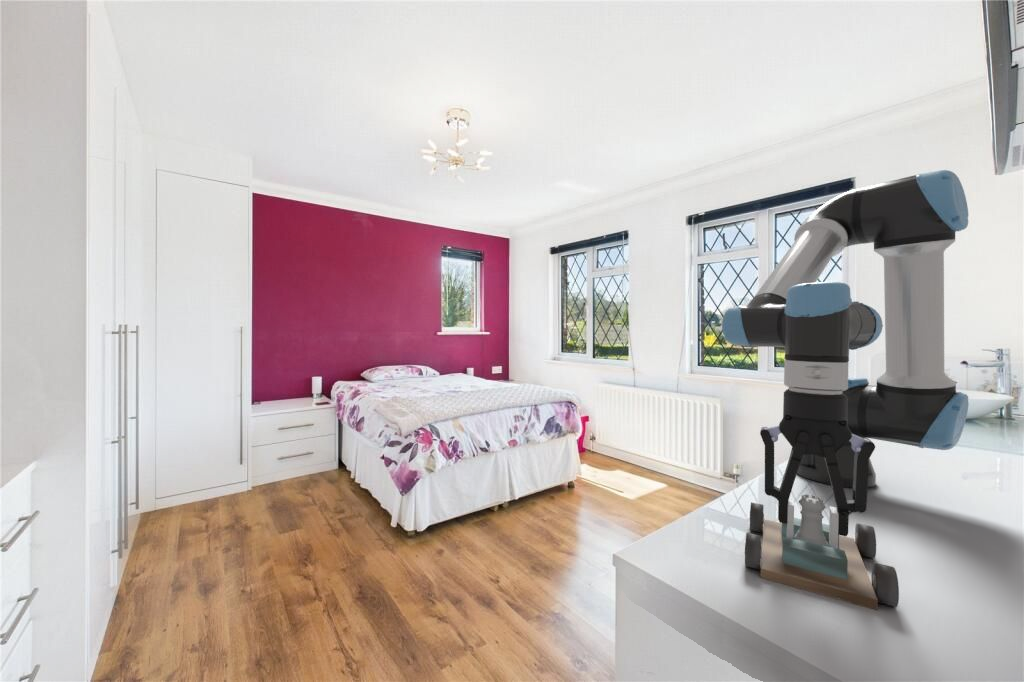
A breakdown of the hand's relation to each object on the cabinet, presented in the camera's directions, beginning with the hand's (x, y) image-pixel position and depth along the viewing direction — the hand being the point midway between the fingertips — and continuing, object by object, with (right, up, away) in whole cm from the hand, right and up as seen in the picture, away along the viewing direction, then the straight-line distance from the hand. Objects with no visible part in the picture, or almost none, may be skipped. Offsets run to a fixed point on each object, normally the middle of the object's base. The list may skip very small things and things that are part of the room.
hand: (810, 549), depth 60 cm
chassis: (0, -2, 0) cm, 2 cm away
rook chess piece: (0, -1, 0) cm, 1 cm away
